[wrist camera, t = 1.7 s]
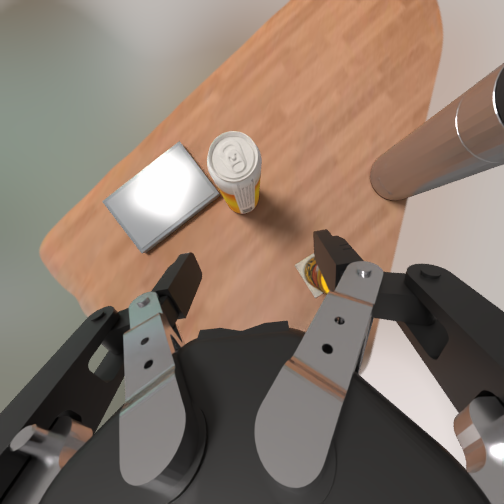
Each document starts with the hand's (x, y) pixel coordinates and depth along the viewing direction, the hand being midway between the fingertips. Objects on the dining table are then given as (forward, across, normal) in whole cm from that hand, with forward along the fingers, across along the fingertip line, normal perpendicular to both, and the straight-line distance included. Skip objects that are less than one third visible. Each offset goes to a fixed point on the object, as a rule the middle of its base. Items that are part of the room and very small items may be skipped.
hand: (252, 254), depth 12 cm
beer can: (+24, +3, +2) cm, 24 cm away
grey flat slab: (+24, +18, -1) cm, 30 cm away
